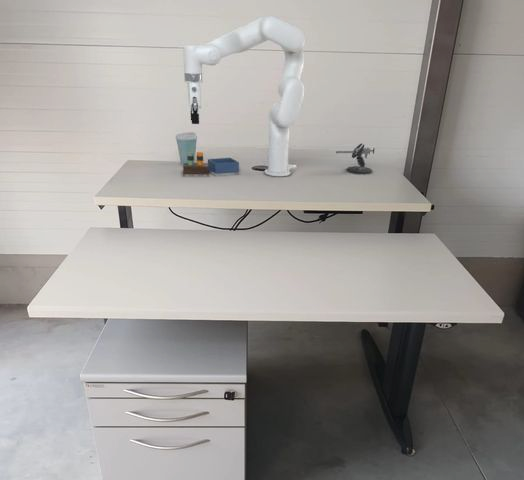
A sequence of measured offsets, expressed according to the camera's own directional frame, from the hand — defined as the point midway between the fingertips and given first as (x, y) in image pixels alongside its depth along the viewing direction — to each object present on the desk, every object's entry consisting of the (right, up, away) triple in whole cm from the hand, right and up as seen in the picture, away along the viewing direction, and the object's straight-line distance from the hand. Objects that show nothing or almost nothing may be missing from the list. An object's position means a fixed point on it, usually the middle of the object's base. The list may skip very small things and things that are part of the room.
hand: (194, 122), depth 221 cm
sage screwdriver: (-4, -17, +15) cm, 23 cm away
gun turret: (+76, -10, +33) cm, 84 cm away
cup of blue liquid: (-8, -7, +32) cm, 34 cm away
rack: (-2, -18, +16) cm, 24 cm away
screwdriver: (+1, -17, +15) cm, 23 cm away
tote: (+11, -15, +21) cm, 28 cm away
